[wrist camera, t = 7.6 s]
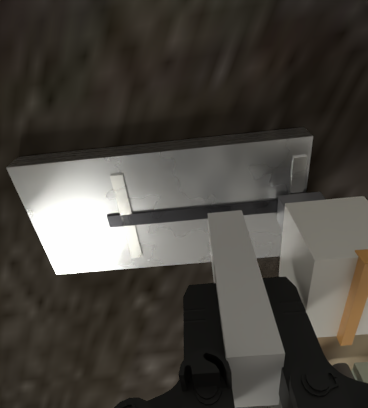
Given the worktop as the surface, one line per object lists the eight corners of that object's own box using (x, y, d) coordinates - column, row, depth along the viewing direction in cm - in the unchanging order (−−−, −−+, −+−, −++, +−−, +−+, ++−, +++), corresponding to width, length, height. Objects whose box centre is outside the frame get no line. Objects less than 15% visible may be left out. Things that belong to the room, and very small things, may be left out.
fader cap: (265, 240, 16) (304, 348, 11) (269, 171, 14) (319, 267, 9) (322, 235, 16) (388, 342, 11) (335, 165, 14) (424, 259, 9)
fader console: (63, 260, 19) (55, 276, 18) (17, 157, 15) (4, 168, 14) (291, 240, 18) (298, 256, 17) (304, 127, 14) (314, 136, 13)
